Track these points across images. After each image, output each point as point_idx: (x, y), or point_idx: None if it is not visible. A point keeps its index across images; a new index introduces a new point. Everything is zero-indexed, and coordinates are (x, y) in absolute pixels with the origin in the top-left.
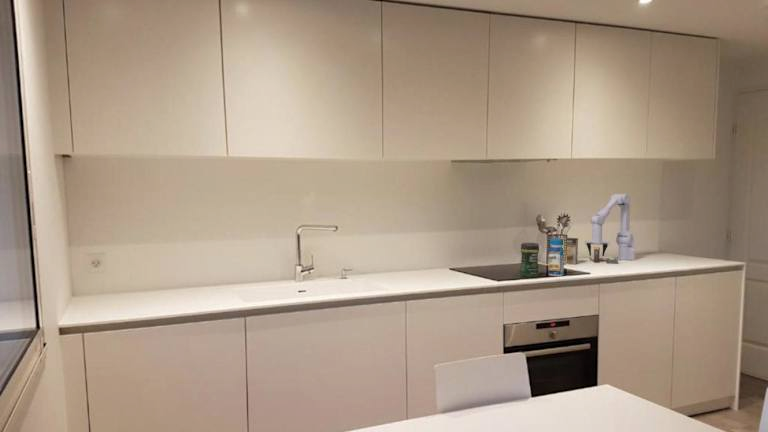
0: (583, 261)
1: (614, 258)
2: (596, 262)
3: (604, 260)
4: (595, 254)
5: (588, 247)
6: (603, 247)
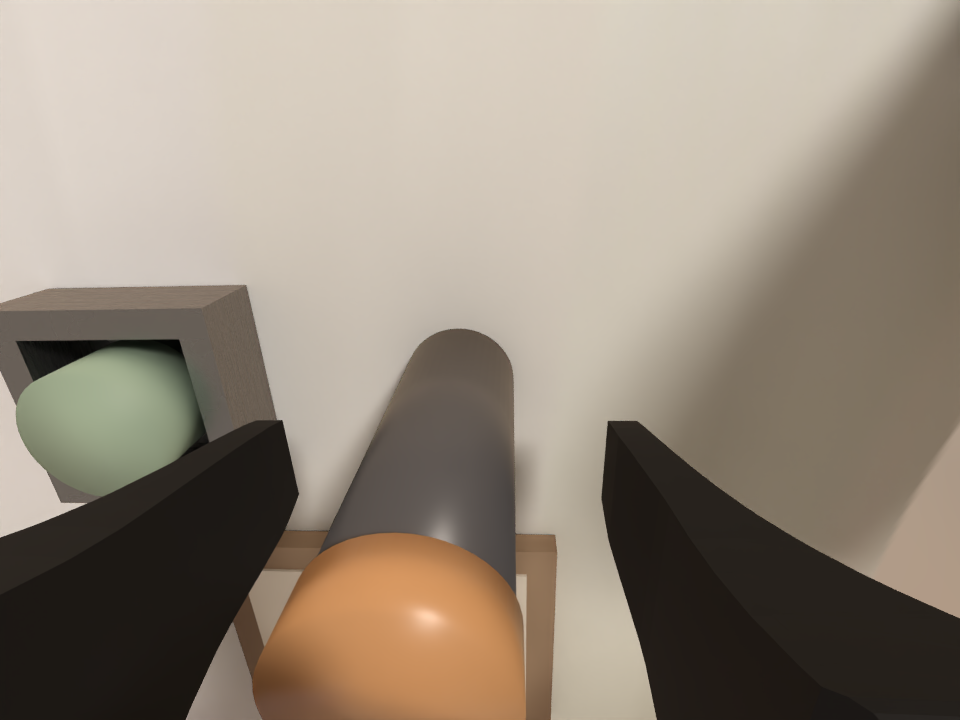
0: (715, 425)
1: (33, 390)
2: (464, 330)
3: (315, 541)
4: (476, 432)
5: (894, 600)
6: (7, 609)
